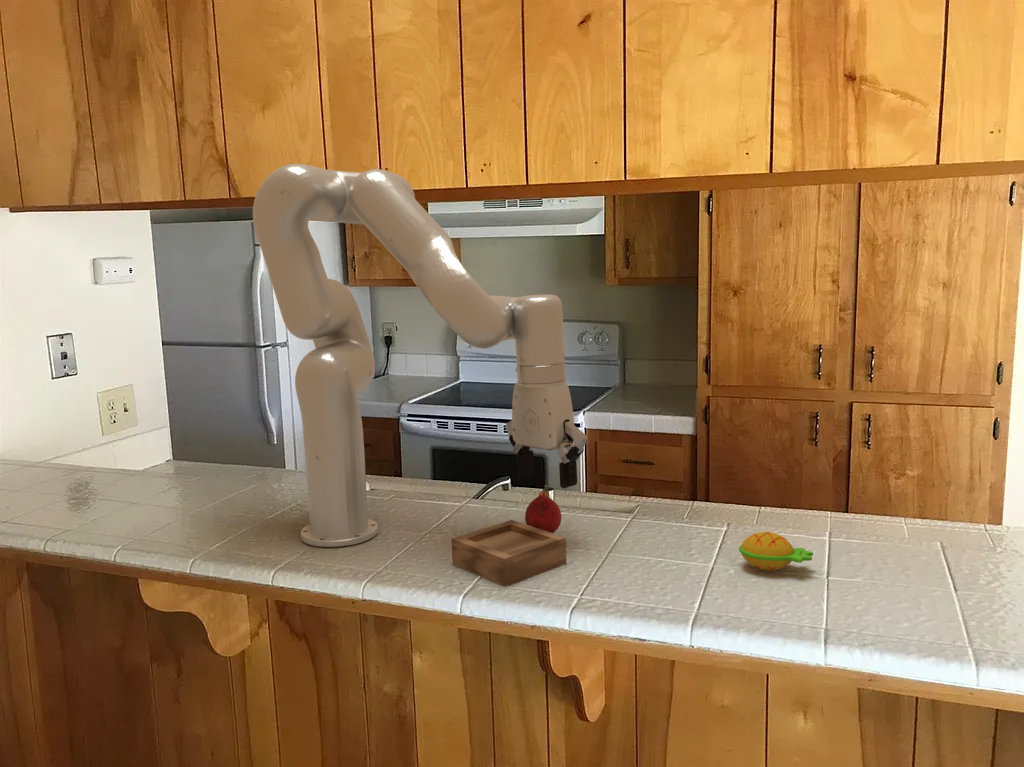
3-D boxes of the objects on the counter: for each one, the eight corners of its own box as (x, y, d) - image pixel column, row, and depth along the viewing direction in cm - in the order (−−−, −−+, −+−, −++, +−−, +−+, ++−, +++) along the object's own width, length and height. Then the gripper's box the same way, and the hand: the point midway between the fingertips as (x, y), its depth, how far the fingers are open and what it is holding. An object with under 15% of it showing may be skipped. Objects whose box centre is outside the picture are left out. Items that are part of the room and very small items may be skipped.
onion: (558, 546, 132) (557, 497, 131) (522, 544, 133) (521, 496, 132) (564, 534, 138) (563, 486, 137) (529, 532, 139) (528, 485, 138)
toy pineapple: (742, 557, 125) (743, 522, 125) (814, 565, 121) (815, 530, 121) (735, 574, 119) (735, 537, 118) (810, 583, 115) (811, 546, 114)
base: (452, 564, 126) (451, 538, 125) (512, 544, 134) (511, 519, 133) (505, 586, 117) (504, 559, 116) (566, 563, 125) (565, 537, 124)
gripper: (487, 374, 135) (493, 477, 138) (563, 382, 122) (569, 496, 125) (521, 367, 140) (527, 467, 143) (598, 375, 127) (603, 484, 130)
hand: (547, 481), depth 134 cm, fingers open, 9 cm apart
